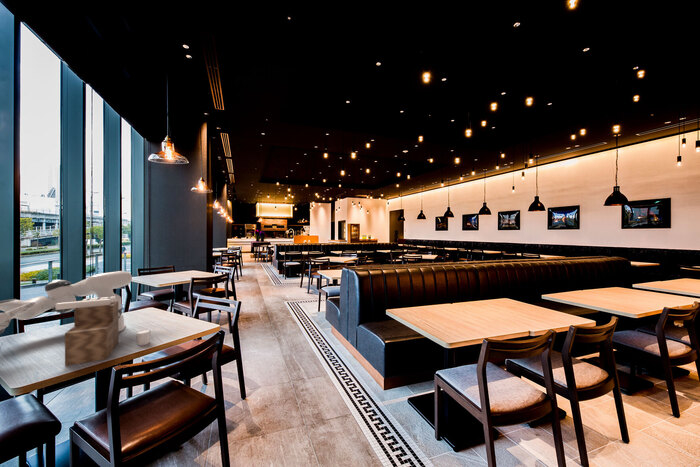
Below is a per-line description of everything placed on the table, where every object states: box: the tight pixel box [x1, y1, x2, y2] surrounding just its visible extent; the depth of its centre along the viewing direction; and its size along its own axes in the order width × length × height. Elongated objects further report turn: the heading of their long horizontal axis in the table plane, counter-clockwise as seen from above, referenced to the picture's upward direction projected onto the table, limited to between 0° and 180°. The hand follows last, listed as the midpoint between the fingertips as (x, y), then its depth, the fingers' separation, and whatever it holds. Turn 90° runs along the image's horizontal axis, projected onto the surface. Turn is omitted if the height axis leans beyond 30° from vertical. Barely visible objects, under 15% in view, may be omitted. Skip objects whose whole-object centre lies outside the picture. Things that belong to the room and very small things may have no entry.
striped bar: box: [81, 296, 116, 303], centre depth 161 cm, size 14×3×3 cm, turn 118°
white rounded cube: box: [135, 329, 151, 346], centre depth 167 cm, size 7×7×7 cm
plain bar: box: [56, 299, 111, 310], centre depth 154 cm, size 22×3×3 cm, turn 118°
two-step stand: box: [64, 301, 120, 367], centre depth 153 cm, size 16×24×25 cm, turn 28°
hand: (29, 305), depth 147 cm, fingers open, 8 cm apart
